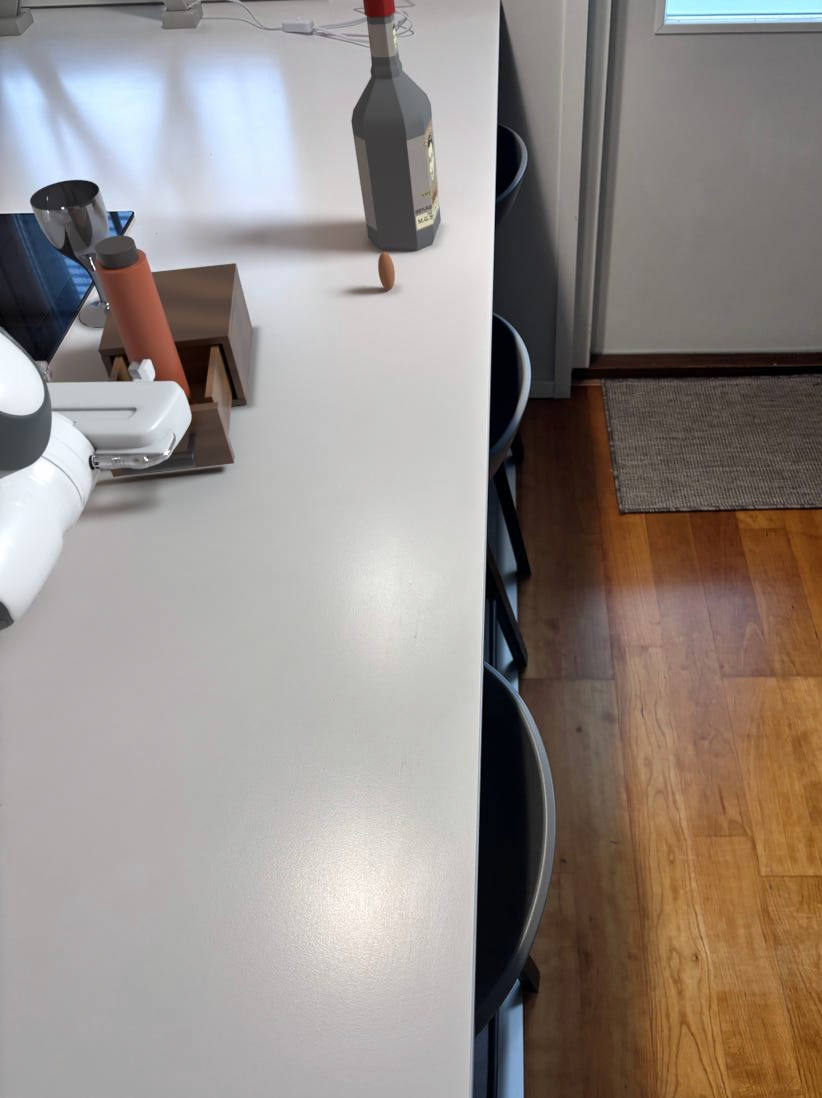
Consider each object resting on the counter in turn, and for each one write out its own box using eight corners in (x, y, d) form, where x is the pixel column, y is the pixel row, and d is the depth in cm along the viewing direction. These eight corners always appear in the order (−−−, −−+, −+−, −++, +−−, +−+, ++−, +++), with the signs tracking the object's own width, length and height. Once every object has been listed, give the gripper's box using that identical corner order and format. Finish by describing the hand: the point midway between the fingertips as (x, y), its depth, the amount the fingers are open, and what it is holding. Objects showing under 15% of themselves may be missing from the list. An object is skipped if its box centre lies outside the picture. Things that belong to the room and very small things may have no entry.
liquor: (366, 251, 132) (328, -5, 110) (379, 219, 138) (346, -30, 116) (432, 252, 131) (408, -6, 109) (443, 220, 137) (422, -32, 115)
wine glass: (152, 302, 127) (113, 185, 115) (112, 333, 122) (68, 215, 111) (103, 291, 129) (61, 175, 118) (63, 322, 125) (15, 204, 113)
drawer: (232, 491, 99) (214, 435, 94) (107, 505, 99) (82, 450, 94) (241, 383, 112) (226, 329, 107) (130, 396, 111) (110, 342, 106)
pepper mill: (146, 443, 103) (77, 263, 88) (152, 410, 107) (87, 233, 92) (201, 437, 104) (142, 256, 88) (205, 404, 107) (149, 226, 92)
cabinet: (247, 404, 111) (228, 335, 104) (124, 418, 110) (97, 349, 103) (253, 330, 121) (235, 262, 114) (140, 342, 120) (117, 275, 114)
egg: (394, 294, 125) (389, 256, 121) (379, 293, 125) (374, 255, 121) (398, 286, 126) (393, 248, 122) (383, 285, 126) (378, 248, 123)
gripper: (152, 432, 74) (198, 332, 83) (-104, 435, 76) (-32, 336, 85) (176, 497, 79) (217, 395, 88) (-66, 497, 81) (-1, 398, 90)
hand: (93, 366), depth 87 cm, fingers open, 8 cm apart
